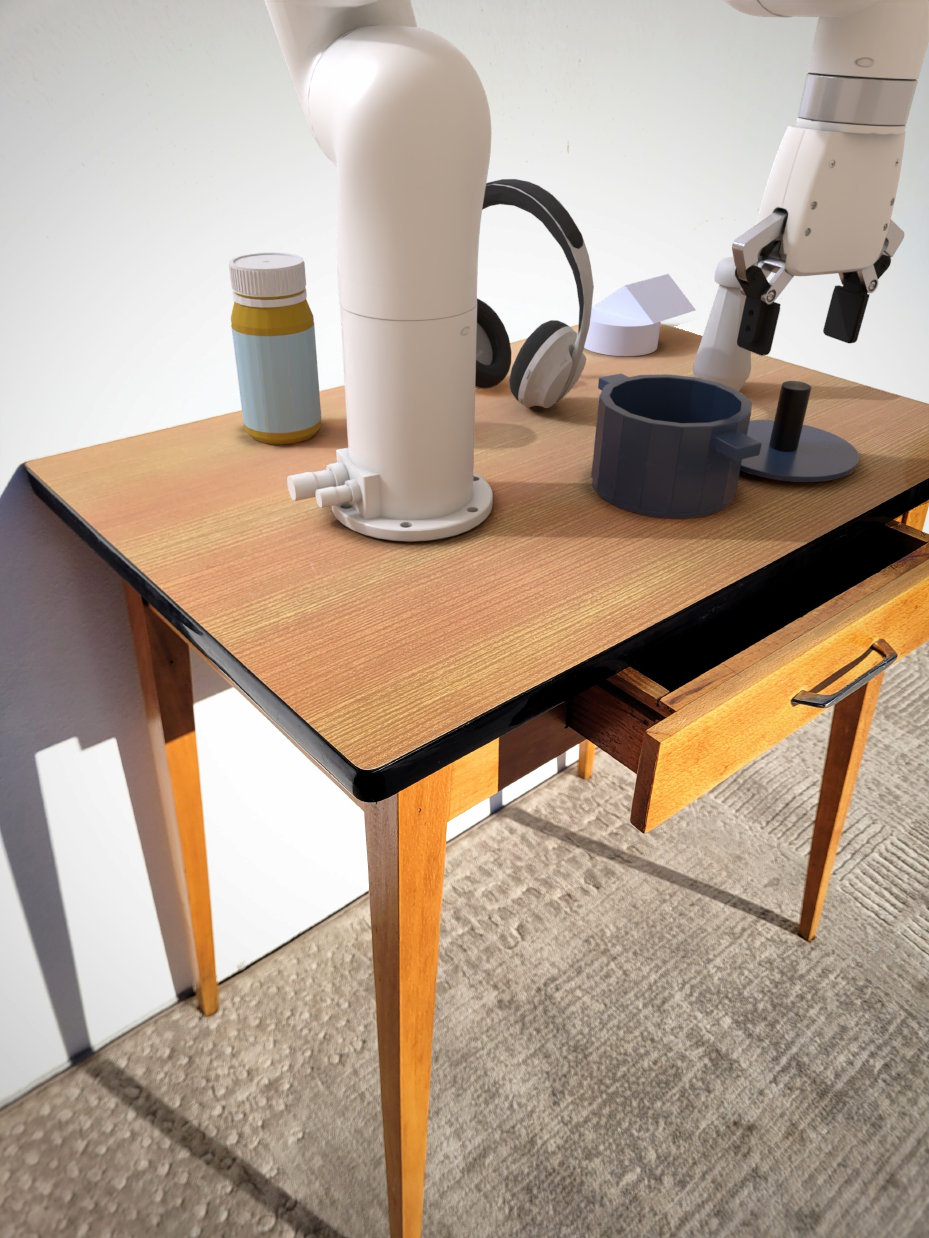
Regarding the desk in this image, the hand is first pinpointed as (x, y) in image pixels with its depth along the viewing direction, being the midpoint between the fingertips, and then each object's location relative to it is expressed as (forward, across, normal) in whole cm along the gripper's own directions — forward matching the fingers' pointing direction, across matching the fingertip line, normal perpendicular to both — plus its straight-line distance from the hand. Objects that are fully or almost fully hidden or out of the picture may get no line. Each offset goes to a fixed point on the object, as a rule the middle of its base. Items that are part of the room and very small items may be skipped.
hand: (796, 344), depth 75 cm
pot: (+10, +12, 0) cm, 16 cm away
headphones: (+11, +13, -24) cm, 29 cm away
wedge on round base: (+10, -10, -34) cm, 37 cm away
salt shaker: (+10, -8, -16) cm, 20 cm away
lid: (+10, -1, 0) cm, 10 cm away
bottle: (+12, +36, -25) cm, 45 cm away
